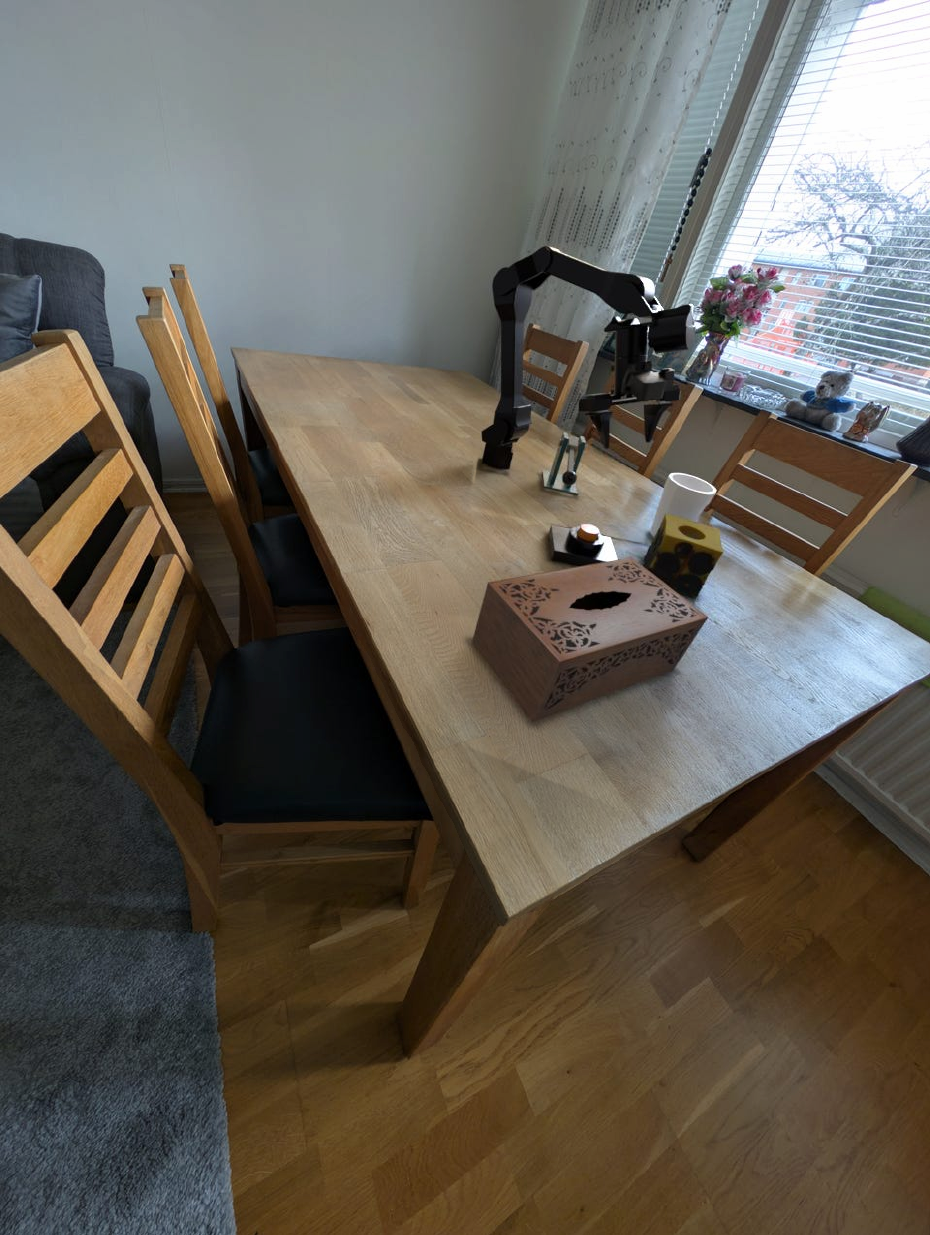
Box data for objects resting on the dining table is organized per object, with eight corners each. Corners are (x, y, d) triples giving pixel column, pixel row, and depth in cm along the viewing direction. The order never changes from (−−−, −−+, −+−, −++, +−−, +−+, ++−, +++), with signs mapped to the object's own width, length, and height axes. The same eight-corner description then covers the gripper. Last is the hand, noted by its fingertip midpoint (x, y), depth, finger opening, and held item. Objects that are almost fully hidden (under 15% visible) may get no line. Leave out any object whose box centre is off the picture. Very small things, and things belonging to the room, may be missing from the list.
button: (578, 539, 87) (581, 531, 86) (576, 530, 90) (579, 522, 89) (597, 543, 87) (600, 535, 86) (594, 534, 90) (598, 526, 89)
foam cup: (691, 544, 104) (722, 488, 96) (675, 556, 98) (707, 497, 90) (652, 524, 108) (679, 469, 100) (634, 534, 102) (661, 477, 94)
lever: (573, 490, 105) (578, 480, 102) (559, 487, 105) (564, 476, 102) (576, 447, 111) (581, 436, 108) (563, 444, 111) (567, 433, 108)
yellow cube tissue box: (694, 574, 93) (720, 529, 87) (697, 601, 86) (726, 553, 79) (642, 556, 95) (665, 511, 89) (641, 581, 87) (665, 533, 81)
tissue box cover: (532, 722, 56) (559, 661, 50) (471, 642, 65) (488, 582, 59) (673, 670, 69) (708, 616, 63) (606, 609, 78) (631, 557, 72)
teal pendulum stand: (576, 498, 111) (594, 448, 104) (543, 491, 111) (558, 440, 104) (572, 481, 119) (589, 434, 112) (541, 474, 119) (555, 426, 112)
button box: (550, 560, 87) (557, 541, 84) (547, 534, 94) (554, 516, 92) (614, 574, 87) (623, 555, 85) (606, 547, 95) (614, 529, 93)
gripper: (607, 359, 80) (605, 456, 87) (704, 348, 84) (695, 442, 91) (577, 363, 90) (577, 450, 97) (664, 353, 94) (659, 438, 100)
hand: (627, 445), depth 96 cm, fingers open, 9 cm apart
